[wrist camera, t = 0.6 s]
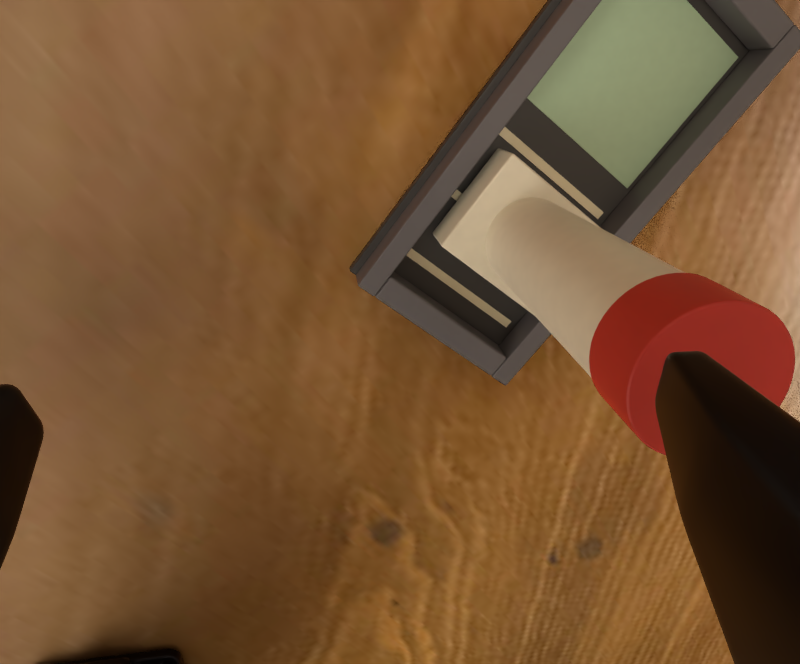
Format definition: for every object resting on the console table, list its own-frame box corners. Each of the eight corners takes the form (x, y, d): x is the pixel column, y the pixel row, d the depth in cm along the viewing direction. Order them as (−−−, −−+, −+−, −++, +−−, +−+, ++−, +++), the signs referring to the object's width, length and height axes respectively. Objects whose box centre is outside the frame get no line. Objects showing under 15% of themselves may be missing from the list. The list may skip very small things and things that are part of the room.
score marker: (525, 303, 22) (717, 512, 11) (431, 233, 21) (551, 396, 10) (590, 225, 21) (863, 372, 11) (498, 146, 20) (705, 225, 9)
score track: (499, 370, 24) (511, 389, 22) (348, 267, 21) (351, 281, 20) (777, 47, 20) (813, 44, 19) (635, -117, 18) (663, -135, 17)
